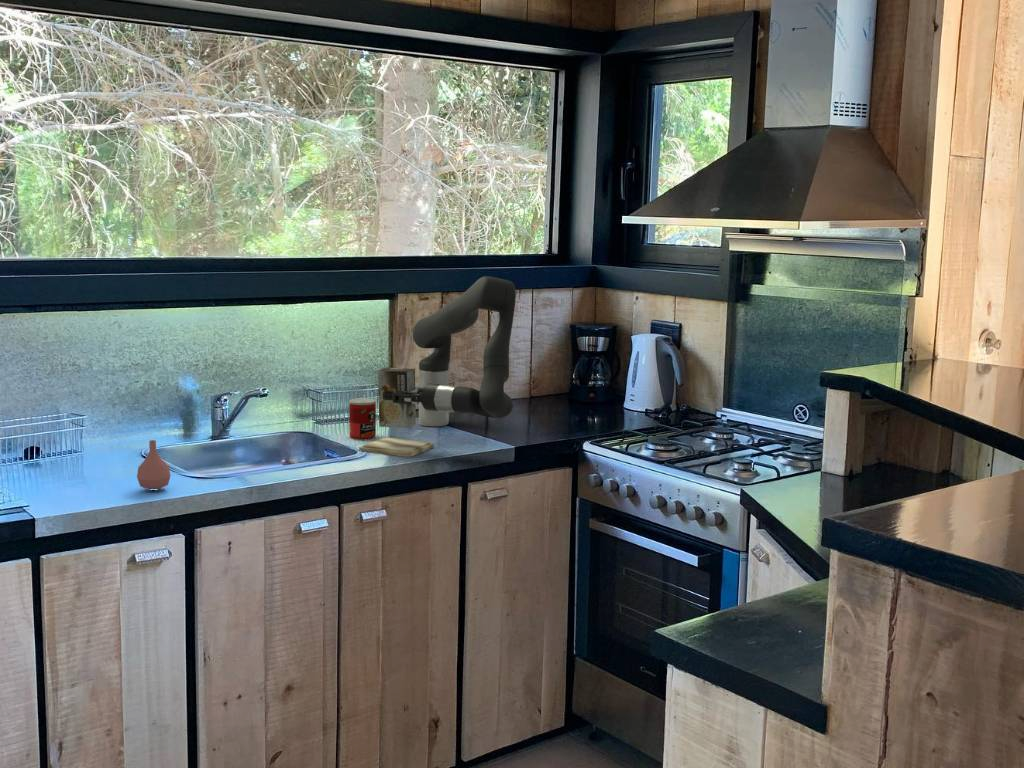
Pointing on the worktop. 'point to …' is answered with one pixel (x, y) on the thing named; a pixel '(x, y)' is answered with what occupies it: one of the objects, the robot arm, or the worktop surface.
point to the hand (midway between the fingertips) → (390, 393)
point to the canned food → (362, 418)
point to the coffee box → (398, 382)
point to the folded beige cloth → (396, 447)
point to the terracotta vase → (153, 470)
